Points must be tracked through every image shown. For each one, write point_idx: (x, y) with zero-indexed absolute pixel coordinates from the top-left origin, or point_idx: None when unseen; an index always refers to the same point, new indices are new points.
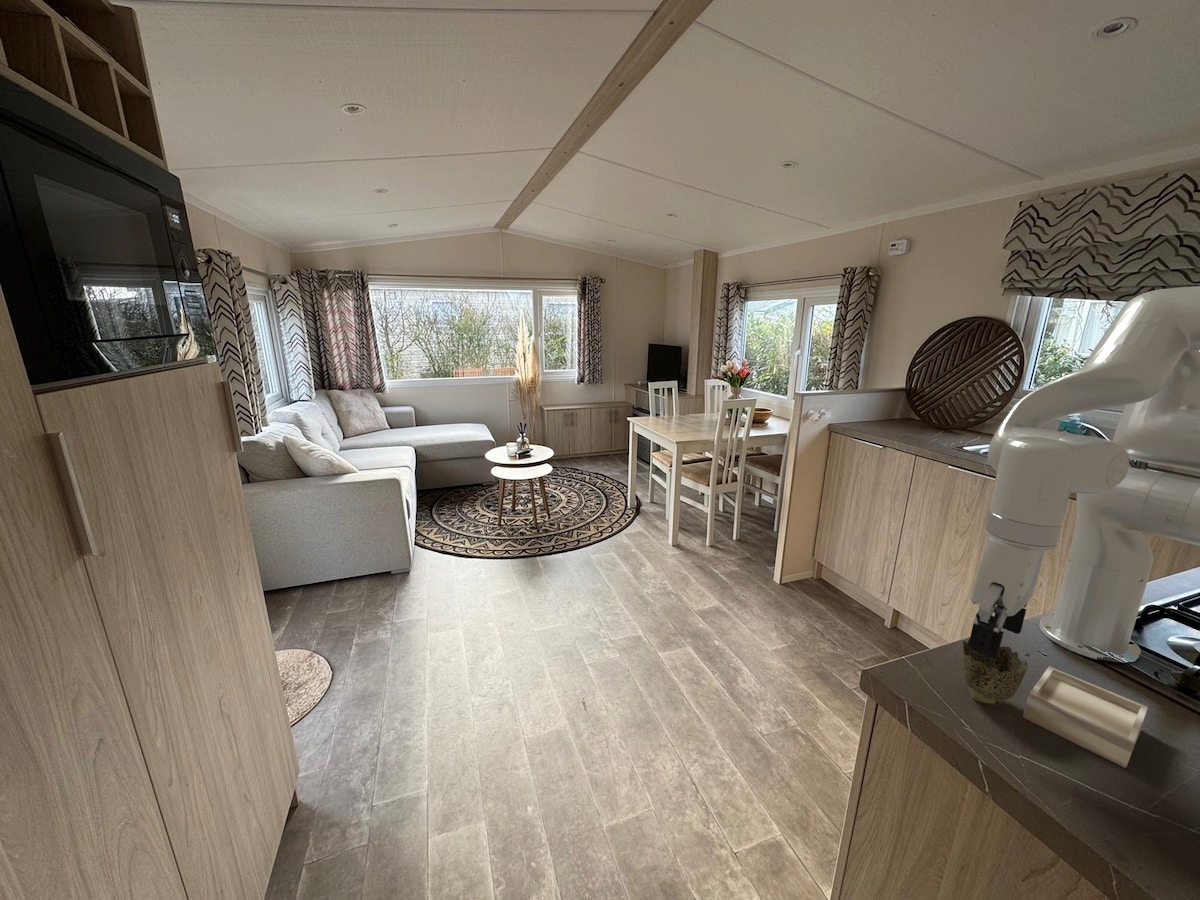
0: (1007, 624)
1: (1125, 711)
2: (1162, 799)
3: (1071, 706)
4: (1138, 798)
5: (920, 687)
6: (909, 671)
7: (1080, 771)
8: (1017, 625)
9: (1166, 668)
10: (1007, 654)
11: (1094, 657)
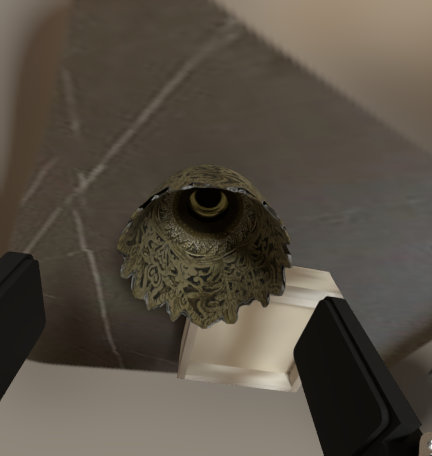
0: (313, 347)
1: (283, 364)
2: (152, 358)
3: (243, 320)
4: (132, 344)
5: (145, 66)
6: (199, 20)
7: (128, 306)
8: (305, 379)
9: None
10: (270, 278)
11: None
